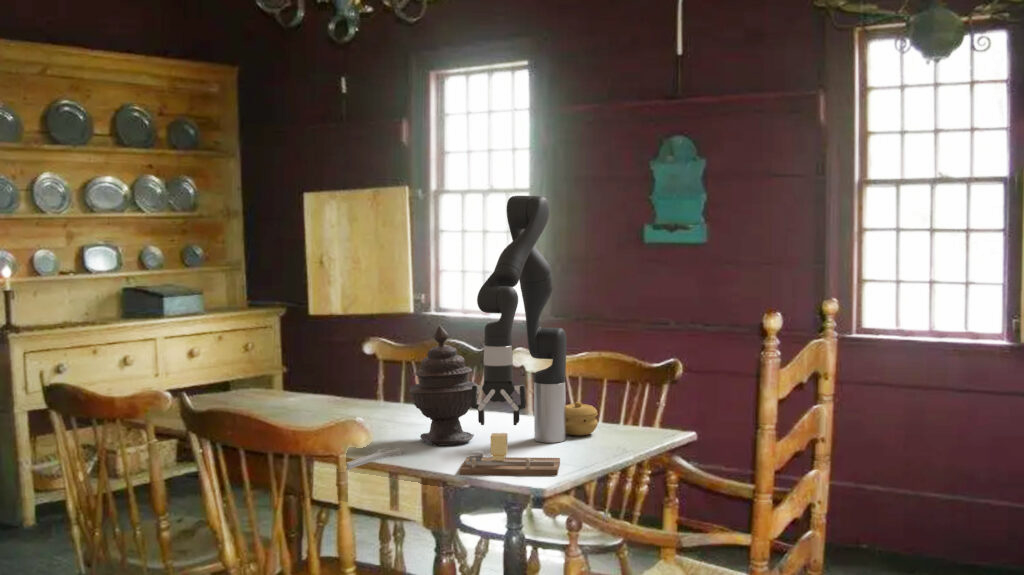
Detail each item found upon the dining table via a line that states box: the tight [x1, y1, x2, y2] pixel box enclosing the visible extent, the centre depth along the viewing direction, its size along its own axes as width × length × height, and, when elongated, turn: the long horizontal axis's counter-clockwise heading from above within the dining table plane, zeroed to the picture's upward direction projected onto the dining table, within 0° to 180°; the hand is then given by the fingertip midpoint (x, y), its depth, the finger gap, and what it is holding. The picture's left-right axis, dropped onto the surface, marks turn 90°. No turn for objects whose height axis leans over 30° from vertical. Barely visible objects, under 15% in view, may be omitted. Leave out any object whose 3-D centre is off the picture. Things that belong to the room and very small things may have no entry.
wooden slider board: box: [459, 450, 561, 476], centre depth 288 cm, size 14×25×4 cm, turn 85°
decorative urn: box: [408, 324, 478, 446], centre depth 324 cm, size 20×20×35 cm
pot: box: [566, 401, 599, 437], centre depth 333 cm, size 12×12×10 cm
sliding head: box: [490, 432, 509, 461], centre depth 289 cm, size 6×4×7 cm, turn 175°
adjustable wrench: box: [346, 447, 403, 470], centre depth 302 cm, size 25×6×2 cm, turn 147°
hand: (498, 424), depth 288 cm, fingers open, 8 cm apart
